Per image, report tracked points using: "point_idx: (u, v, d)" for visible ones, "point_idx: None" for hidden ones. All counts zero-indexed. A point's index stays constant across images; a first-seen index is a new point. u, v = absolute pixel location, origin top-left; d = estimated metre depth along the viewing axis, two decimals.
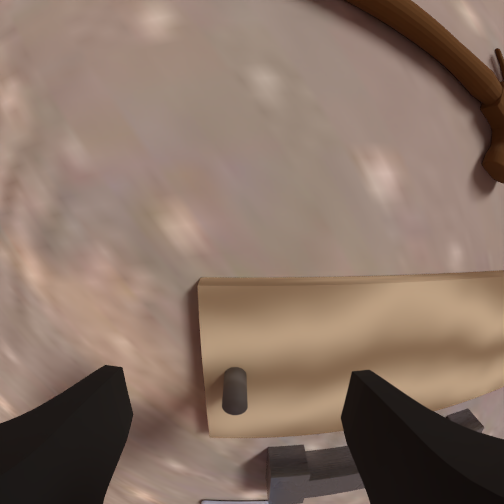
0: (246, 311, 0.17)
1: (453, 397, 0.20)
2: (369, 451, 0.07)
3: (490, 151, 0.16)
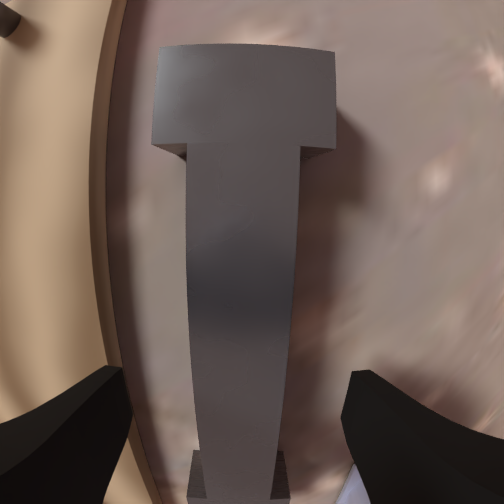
0: None
1: (65, 215, 0.10)
2: (369, 451, 0.07)
3: None
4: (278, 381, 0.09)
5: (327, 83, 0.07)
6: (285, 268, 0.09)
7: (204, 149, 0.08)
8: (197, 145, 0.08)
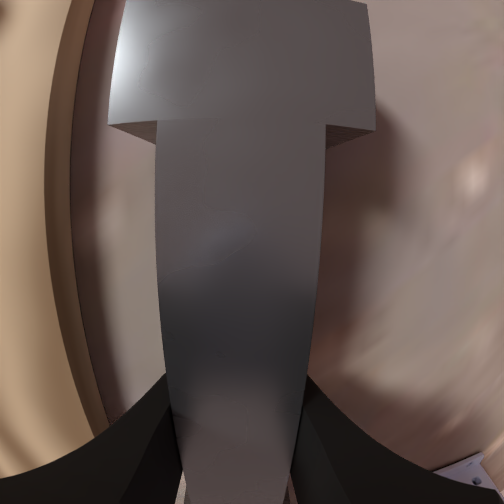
0: None
1: (19, 224, 0.07)
2: (298, 461, 0.07)
3: None
4: (287, 440, 0.07)
5: (360, 41, 0.05)
6: (302, 304, 0.06)
7: (182, 128, 0.05)
8: (172, 123, 0.05)
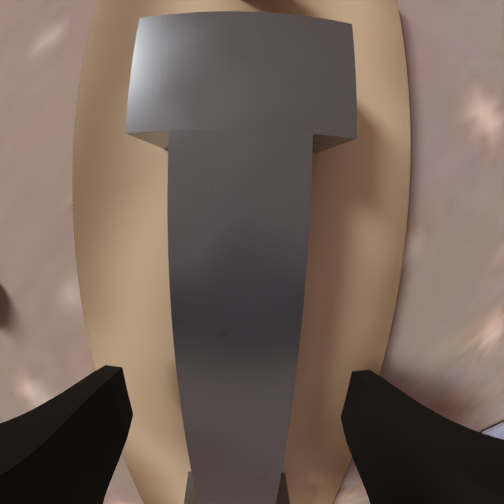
0: None
1: (378, 247, 0.10)
2: (369, 451, 0.07)
3: None
4: (282, 416, 0.08)
5: (344, 59, 0.06)
6: (293, 288, 0.07)
7: (190, 138, 0.06)
8: (182, 133, 0.06)
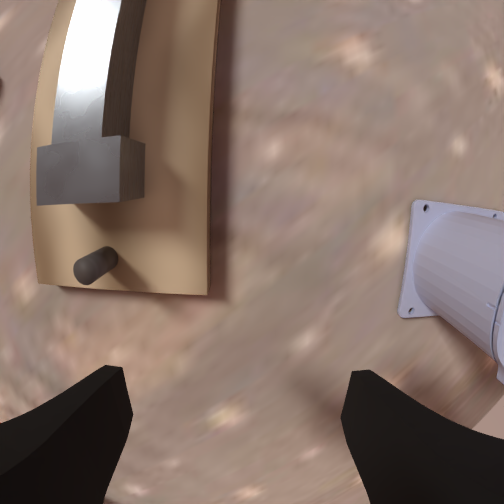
0: (49, 245, 0.17)
1: None
2: (369, 451, 0.07)
3: None
4: None
5: None
6: None
7: None
8: None
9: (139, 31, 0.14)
